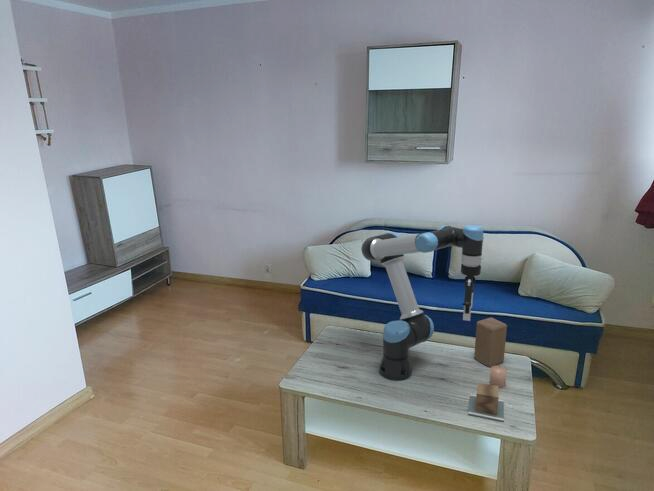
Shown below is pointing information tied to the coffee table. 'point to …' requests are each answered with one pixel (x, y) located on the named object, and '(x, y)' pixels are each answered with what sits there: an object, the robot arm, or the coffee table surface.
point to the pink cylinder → (498, 376)
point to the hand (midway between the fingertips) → (467, 313)
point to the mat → (484, 415)
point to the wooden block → (490, 341)
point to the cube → (487, 398)
